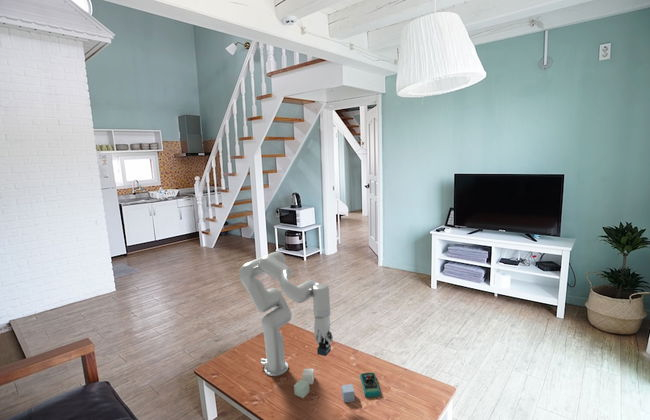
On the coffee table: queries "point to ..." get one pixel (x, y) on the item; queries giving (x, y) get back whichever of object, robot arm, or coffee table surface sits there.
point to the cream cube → (308, 375)
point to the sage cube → (301, 388)
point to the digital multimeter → (370, 385)
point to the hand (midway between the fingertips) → (324, 347)
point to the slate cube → (348, 393)
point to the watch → (328, 346)
